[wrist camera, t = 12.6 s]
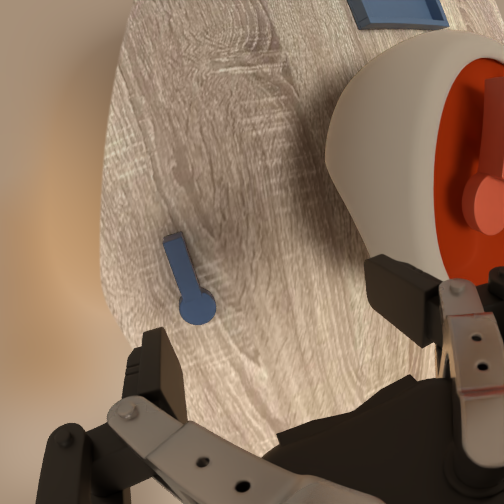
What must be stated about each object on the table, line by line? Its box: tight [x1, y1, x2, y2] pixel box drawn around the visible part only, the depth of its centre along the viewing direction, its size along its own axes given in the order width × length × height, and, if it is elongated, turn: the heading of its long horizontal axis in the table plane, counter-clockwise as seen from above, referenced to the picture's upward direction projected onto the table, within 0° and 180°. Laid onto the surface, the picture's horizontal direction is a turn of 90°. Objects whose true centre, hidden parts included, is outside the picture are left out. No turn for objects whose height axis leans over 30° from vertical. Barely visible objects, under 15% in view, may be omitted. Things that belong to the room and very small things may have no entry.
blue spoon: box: [163, 232, 216, 325], centre depth 30 cm, size 9×4×2 cm, turn 15°
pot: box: [325, 30, 504, 286], centre depth 24 cm, size 24×24×18 cm
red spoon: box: [462, 76, 504, 235], centre depth 14 cm, size 9×4×2 cm, turn 172°
